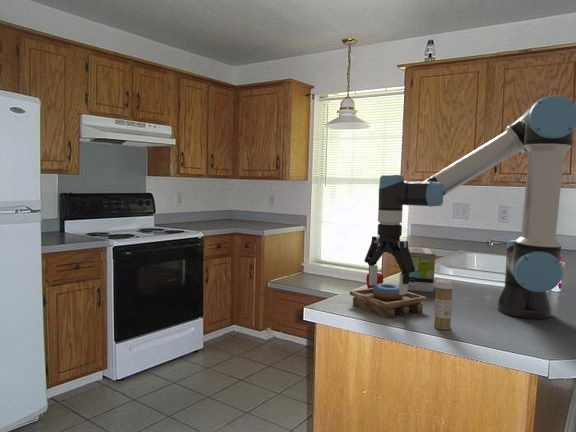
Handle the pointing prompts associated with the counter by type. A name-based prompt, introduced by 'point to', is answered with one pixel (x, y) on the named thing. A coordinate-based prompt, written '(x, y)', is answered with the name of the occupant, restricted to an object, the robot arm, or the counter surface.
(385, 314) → the wooden pallet tray
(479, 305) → the counter surface
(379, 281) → the red bell pepper
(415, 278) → the tea box
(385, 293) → the doughnut
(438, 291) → the sprinkles bottle
